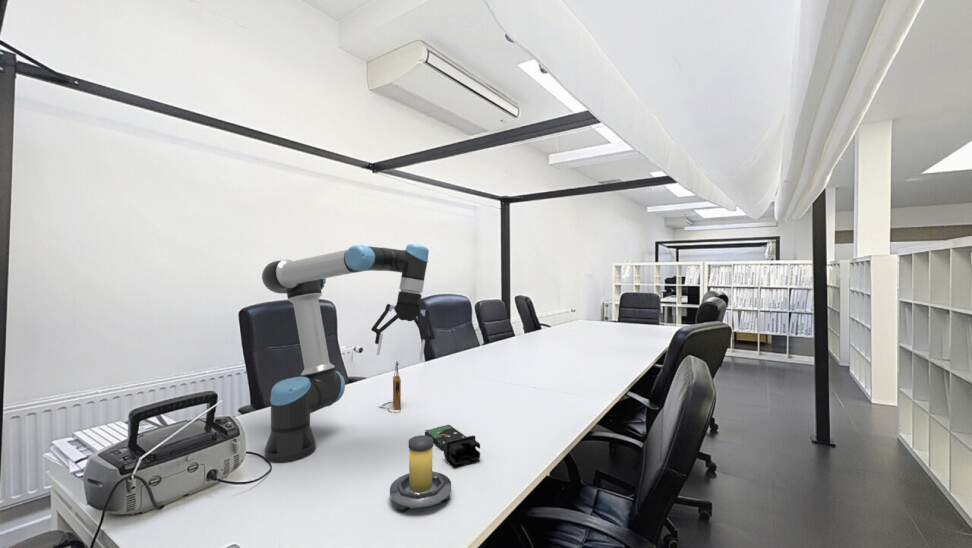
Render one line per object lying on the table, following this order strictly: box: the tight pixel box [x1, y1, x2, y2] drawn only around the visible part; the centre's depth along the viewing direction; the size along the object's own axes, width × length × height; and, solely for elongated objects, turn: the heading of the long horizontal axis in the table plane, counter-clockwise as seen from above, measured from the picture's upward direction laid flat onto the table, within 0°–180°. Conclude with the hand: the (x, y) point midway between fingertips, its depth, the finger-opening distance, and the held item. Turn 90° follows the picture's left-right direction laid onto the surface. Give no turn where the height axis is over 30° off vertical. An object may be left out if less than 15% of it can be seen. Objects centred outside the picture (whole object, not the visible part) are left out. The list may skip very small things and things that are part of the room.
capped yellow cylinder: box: [408, 434, 434, 492], centre depth 104 cm, size 6×6×12 cm
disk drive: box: [424, 424, 467, 452], centre depth 140 cm, size 10×3×15 cm
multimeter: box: [376, 361, 402, 414], centre depth 173 cm, size 15×10×20 cm
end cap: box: [442, 435, 481, 470], centre depth 124 cm, size 10×7×7 cm
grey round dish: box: [389, 470, 452, 513], centre depth 104 cm, size 16×16×4 cm
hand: (399, 357), depth 127 cm, fingers open, 13 cm apart
